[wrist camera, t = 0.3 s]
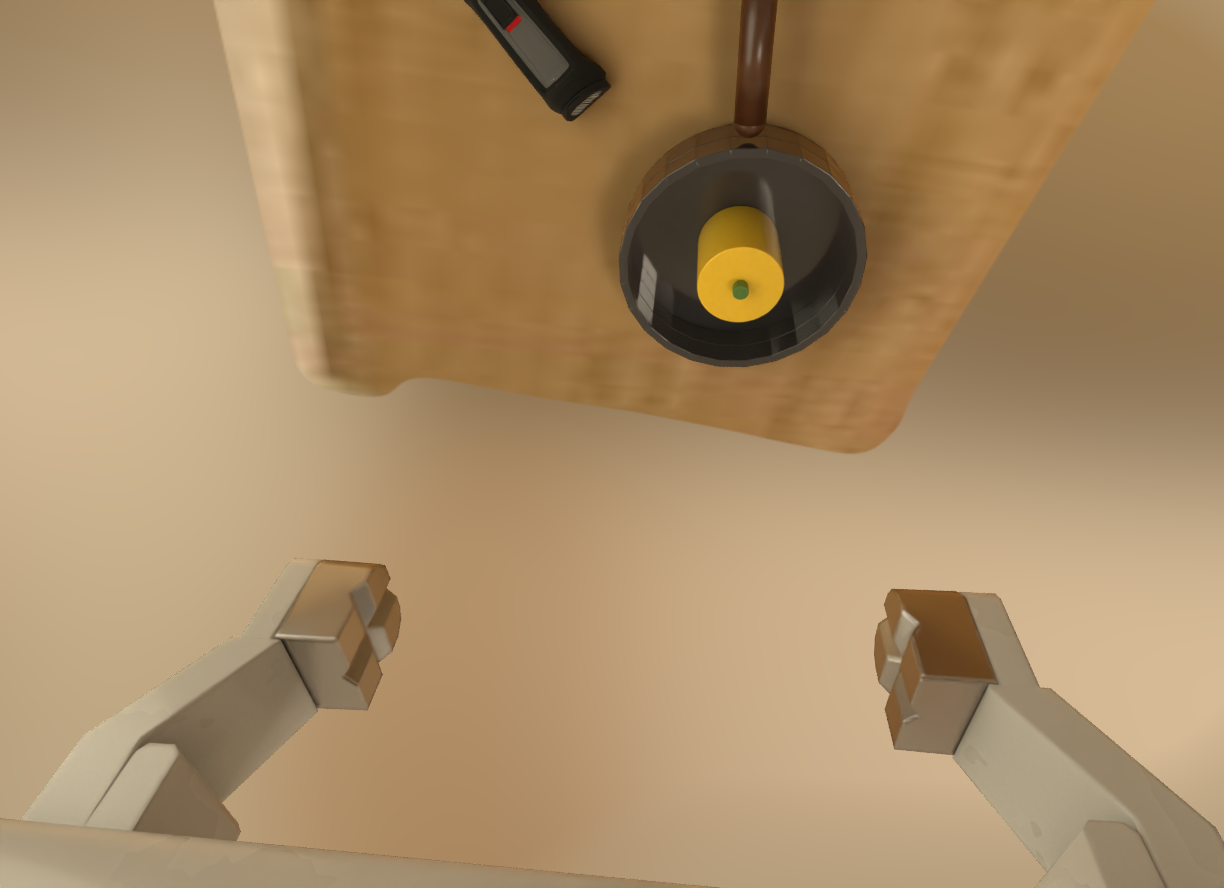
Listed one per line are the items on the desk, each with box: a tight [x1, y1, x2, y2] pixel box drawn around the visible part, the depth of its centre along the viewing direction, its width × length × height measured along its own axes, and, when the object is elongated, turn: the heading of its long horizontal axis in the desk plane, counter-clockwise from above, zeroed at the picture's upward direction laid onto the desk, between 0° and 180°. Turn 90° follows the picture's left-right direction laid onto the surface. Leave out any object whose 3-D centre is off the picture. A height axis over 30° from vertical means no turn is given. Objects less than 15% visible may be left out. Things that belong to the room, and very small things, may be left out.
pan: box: [619, 124, 867, 367], centre depth 46 cm, size 16×16×4 cm
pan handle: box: [734, 0, 778, 138], centre depth 37 cm, size 9×2×2 cm, turn 3°
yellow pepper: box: [697, 206, 784, 322], centre depth 45 cm, size 5×5×6 cm
